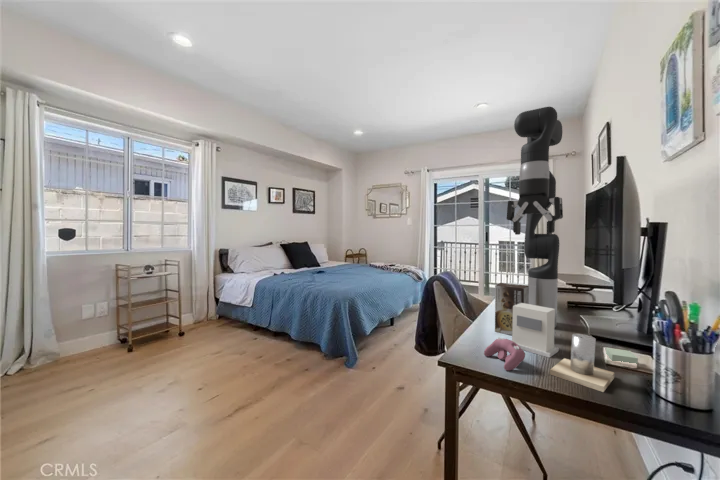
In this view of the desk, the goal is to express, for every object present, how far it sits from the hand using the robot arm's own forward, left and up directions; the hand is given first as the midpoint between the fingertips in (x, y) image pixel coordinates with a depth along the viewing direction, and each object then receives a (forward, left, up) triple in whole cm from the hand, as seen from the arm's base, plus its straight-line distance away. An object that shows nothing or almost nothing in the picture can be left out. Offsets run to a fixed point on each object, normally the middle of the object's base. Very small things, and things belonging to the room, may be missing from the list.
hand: (532, 234), depth 86 cm
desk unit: (+1, +1, -33) cm, 33 cm away
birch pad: (+10, +15, -33) cm, 38 cm away
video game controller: (+17, 0, -33) cm, 37 cm away
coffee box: (-8, -9, -33) cm, 35 cm away
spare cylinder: (+10, +15, -32) cm, 37 cm away
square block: (-6, +19, -33) cm, 39 cm away
